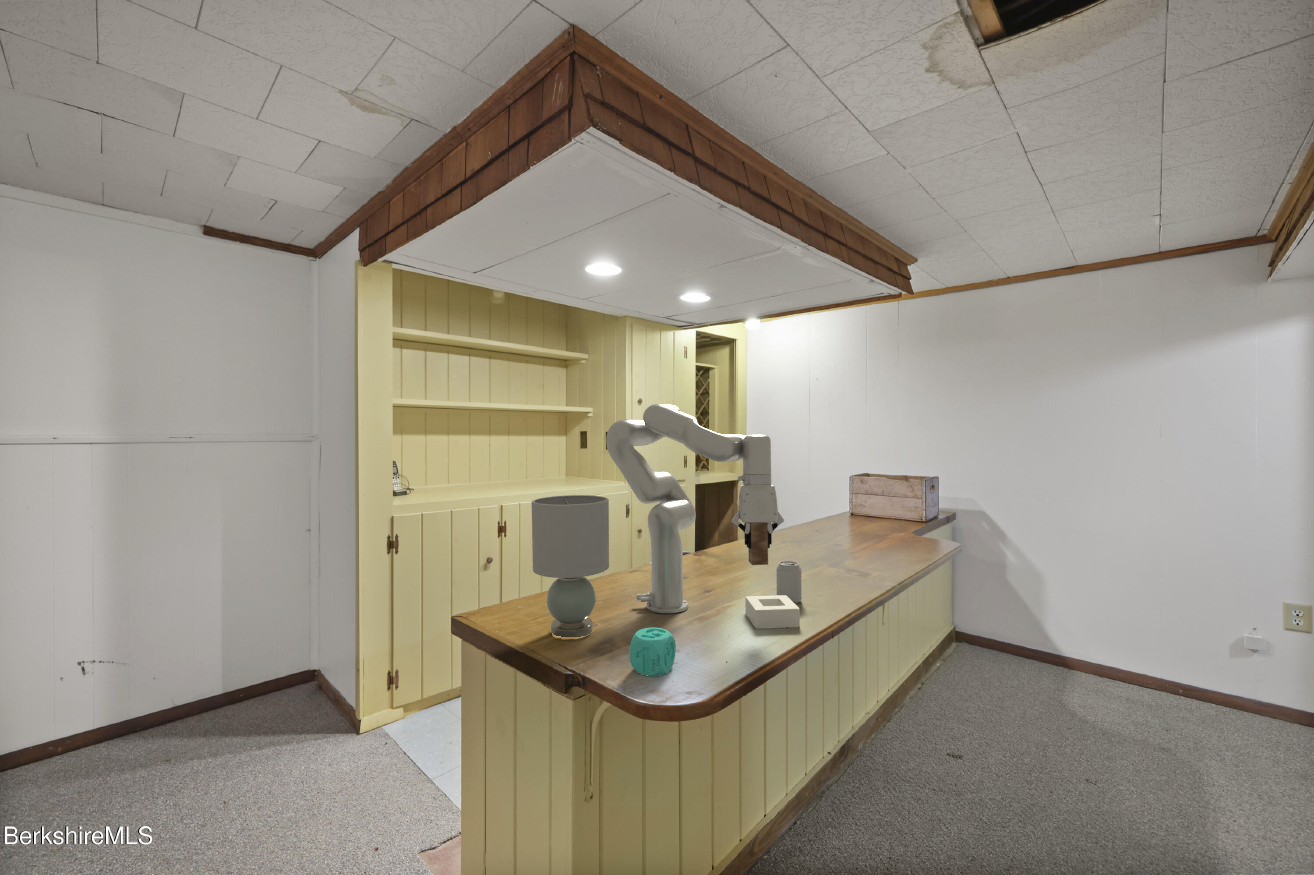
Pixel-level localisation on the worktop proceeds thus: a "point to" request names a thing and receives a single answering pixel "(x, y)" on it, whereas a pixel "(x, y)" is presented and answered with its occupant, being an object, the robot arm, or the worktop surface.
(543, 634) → the worktop surface
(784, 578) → the can
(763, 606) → the socket block
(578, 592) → the lamp
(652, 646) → the decorative dice
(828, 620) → the worktop surface
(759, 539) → the peg
